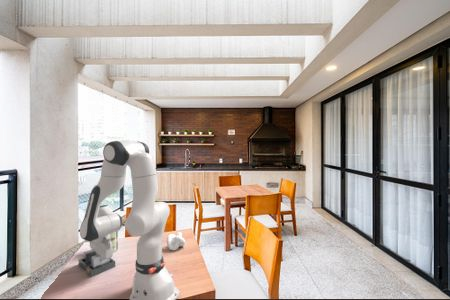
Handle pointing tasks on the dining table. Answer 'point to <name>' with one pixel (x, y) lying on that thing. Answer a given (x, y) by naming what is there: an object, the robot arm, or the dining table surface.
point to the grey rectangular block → (98, 261)
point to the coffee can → (114, 241)
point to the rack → (86, 264)
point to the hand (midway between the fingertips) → (101, 261)
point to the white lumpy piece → (175, 241)
